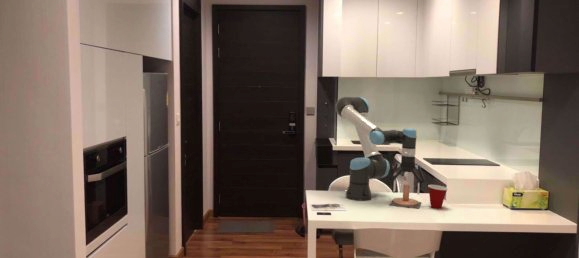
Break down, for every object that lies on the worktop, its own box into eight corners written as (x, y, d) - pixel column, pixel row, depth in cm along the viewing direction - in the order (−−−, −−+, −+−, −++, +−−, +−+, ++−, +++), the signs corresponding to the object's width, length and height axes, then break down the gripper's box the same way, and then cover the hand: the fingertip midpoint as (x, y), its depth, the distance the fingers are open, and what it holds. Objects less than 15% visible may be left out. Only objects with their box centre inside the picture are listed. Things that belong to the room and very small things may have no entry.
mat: (389, 205, 279) (389, 204, 279) (393, 199, 293) (393, 198, 293) (418, 208, 274) (418, 207, 274) (421, 203, 288) (421, 202, 288)
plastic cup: (447, 210, 272) (448, 189, 271) (427, 208, 274) (428, 187, 273) (445, 206, 283) (447, 185, 282) (426, 204, 285) (427, 183, 284)
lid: (391, 204, 279) (392, 186, 278) (395, 199, 292) (396, 181, 292) (416, 207, 274) (417, 188, 274) (419, 202, 288) (420, 184, 287)
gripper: (385, 154, 282) (383, 191, 284) (430, 158, 273) (428, 196, 275) (387, 153, 289) (385, 189, 291) (431, 156, 280) (429, 193, 282)
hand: (406, 192), depth 283 cm, fingers open, 13 cm apart
